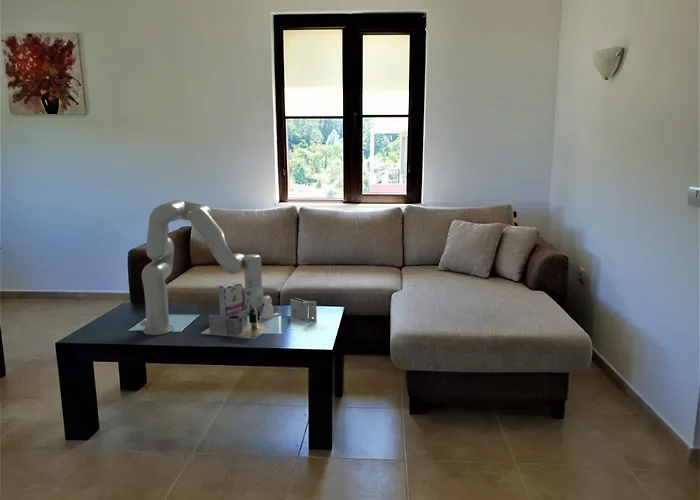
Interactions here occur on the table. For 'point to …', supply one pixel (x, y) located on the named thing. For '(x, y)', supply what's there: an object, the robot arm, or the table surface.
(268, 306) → the seated beast figurine
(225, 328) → the grey walled base plate
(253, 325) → the pin
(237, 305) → the candy bar box
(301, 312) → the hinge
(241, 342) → the table surface
